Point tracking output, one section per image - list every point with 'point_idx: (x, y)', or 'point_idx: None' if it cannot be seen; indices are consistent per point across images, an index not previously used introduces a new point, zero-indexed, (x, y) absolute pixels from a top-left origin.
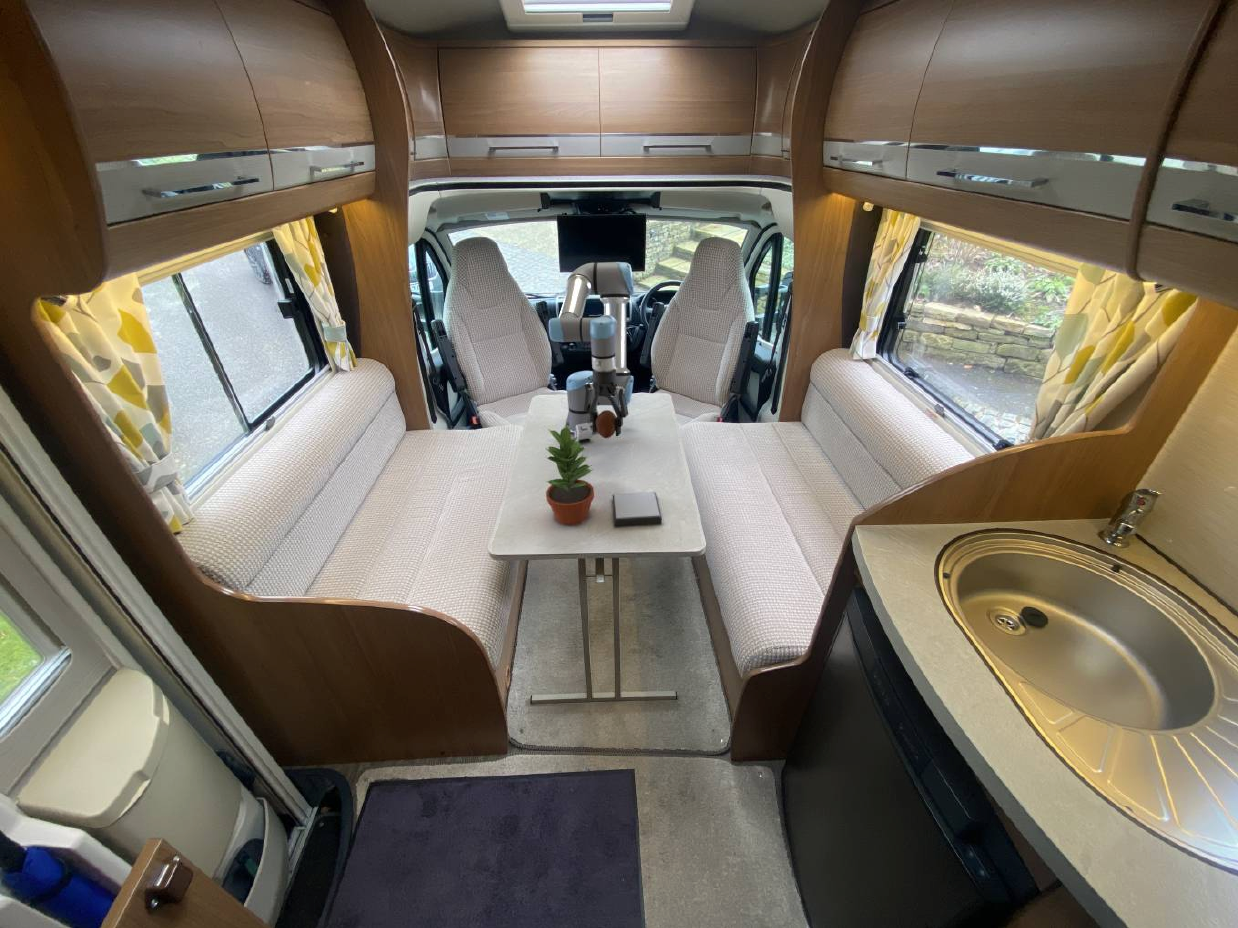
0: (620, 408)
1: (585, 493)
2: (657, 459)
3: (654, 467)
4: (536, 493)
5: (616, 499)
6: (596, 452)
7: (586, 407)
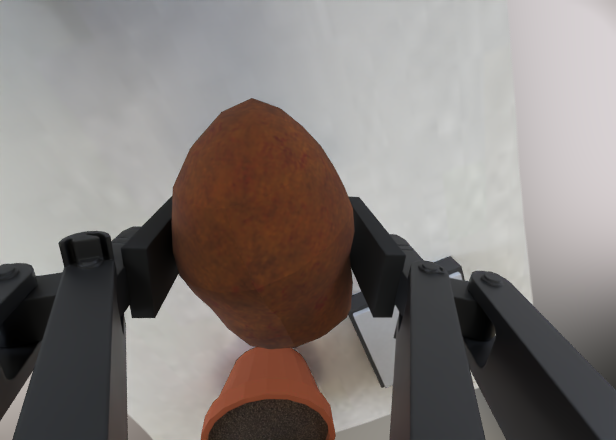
0: (453, 321)
1: (311, 426)
2: (432, 11)
3: (427, 84)
4: (129, 336)
5: (367, 335)
6: (156, 24)
7: (15, 371)
